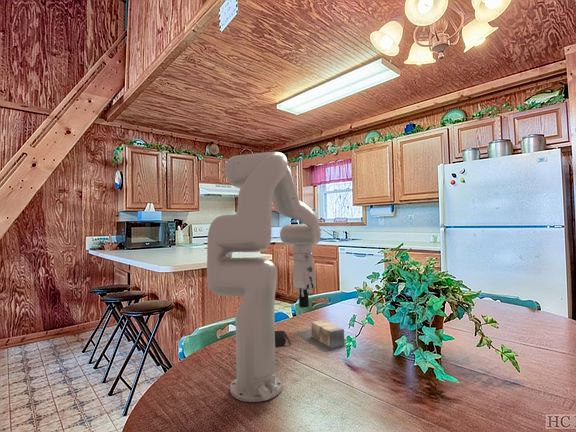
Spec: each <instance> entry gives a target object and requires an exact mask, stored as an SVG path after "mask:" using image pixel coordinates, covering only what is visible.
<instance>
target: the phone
mask: <svg viewBox="0 0 576 432" xmlns="http://www.w3.org/2000/svg"><path fill="white" fill-rule="evenodd" d="M286 342H288V345H286ZM291 345H292V344H291V341H290V339H289V338H288V336H287V333H286V331H285V330H275V348H282V347H283V348H284V347H290V346H291Z"/></svg>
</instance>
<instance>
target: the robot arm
mask: <svg viewBox="0 0 576 432" xmlns="http://www.w3.org/2000/svg"><path fill="white" fill-rule="evenodd" d="M224 174H225V177H226V180H227V181H228V183H229V185H231V186H233V187H236V188H237V189H239V191H238V196H237V210H236V211H237V212H236V214H223V215H220V216H217V217H216V218H214V219H213V220H212V222H211V223H210V225H209V228H208V232H207V246H206V248H207V249H206V251H207V252H206V253H207V258H206V279H207V280H206V281H207V287H208V289H209V290H210V291H211V293H213V294H214V295H216V296H223V297H239V298H243V299H244V301H243V302H242V303H241V305H240V306H239V308H238V309H237V311H236V313H235V318H234V319H235V320H234V322H235V324H234V325H235V362H236V363H235V371H236V376H235V379H233V380H232V382H231V383H230V385H229V389H230V390H229V392H230V394H231V396H232V397H233V398H235V399H236V400H237V401H241V402H245V403H247V402H248V403H259V402H260V403H261V402H264V401H268V400H271V399H273V398H275V397H277V395H279V394H280V393H281V391H282V390H283V381H282V379H281V377H279V376H278V375H277V373H276V370H277V368H276V364H277V363H276V347H275V331H276V328H275V326H276V324H275V322H276V321H275V302H276V301H275V300H276V292H277V291H276V290H277V284H278V268H277V266H276V265H275V263H274V262H273V261H272V260H269V259H266V258H263V257H232V256H233V253H260V252H265V251H266V250H267V249H268V248H270V245H271V243H272V242H271V241H272V229H273V228H272V224H273V223H272V222H273V221H272V216H273V215H272V214H273V213H272V212H273V210H272V204H273V208H274V210H275V211H276V212H277V214H278V213H279V214H280V215H282V216H285V217H287V218H290V219H293V220H296V221H298V222H301V223H297V224H296V223H294V224H286V225H284V226H283V227H282V228H281V229H280V233H279V238H280V240H281V242H282V243H283V244H284V245H286V246H292V261H293V266H292V267H293V269H292V283H293V286H294V287H295V289H296V290H297V293H298V307H299V308H301V309H303V308H308V307H309V306H310V305H309V304H310V303H309V301H310V300H309V297H310V294H311V293H313V289H316V287H317V281H316V277H317V276H316V270H315V269H316V268H315V264H314V253H313V251H314V250H313V249H314V247H313V246H315V245H318V243H319V242H320V241H321V236H322V235H321V234H322V233H321V226H320V223H319V219H318V217H317V214H316V213H315V212H314V210H313V209H312V208H310V207H309V206H308V205H307V204H306V203H304V202H302V201H301V200H300V199H299V194H298V192H297V188H296V184H295V180H294V178H293V174H292V171H291V169H290V167H289V165H288V159H287V156H286V155H285V154H284V153H282V152H279V151H267V152H256V153H249V154H247V153H246V154H240V155H234V156H231V157H229V158H228V159H227V160H226V163H225V165H224Z"/></svg>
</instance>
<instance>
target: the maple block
mask: <svg viewBox="0 0 576 432" xmlns="http://www.w3.org/2000/svg"><path fill="white" fill-rule="evenodd" d="M310 323H311V325H310V326H311V328H310V330H311V331H312V337H313V338H315V339H317V340H319V341H320V342H322V343H324V344H326V345H327V346H329V347H331V348H334V347H338V346H342V345H344V339H345V329H344V328H342V327H340V326H338V325H336V324H333V323H332V322H328V321H327V320H324V319H320V320H315V321H311V322H310Z"/></svg>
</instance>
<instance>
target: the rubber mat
mask: <svg viewBox="0 0 576 432" xmlns="http://www.w3.org/2000/svg"><path fill="white" fill-rule="evenodd" d="M294 334H295V335H296V336H298V337H300V338H301V339H302V340H304V341H306V342H307V343H310V345H311V344H312V345H313V346H314V347H316V348H318V349H320V350H321V351H322V352H325V353H326V352H331V351H335V350H339V349H342V348H346V347H345V341H346V340H347V339H346V338H344V345H342V346H338V347H334V348H331V347H329V346H327V345H326V344H324V343H322V342H320V341H319V340H317V339H315V338H313V337H312V331H311V329H306V330H302V331H297V332H294Z"/></svg>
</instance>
